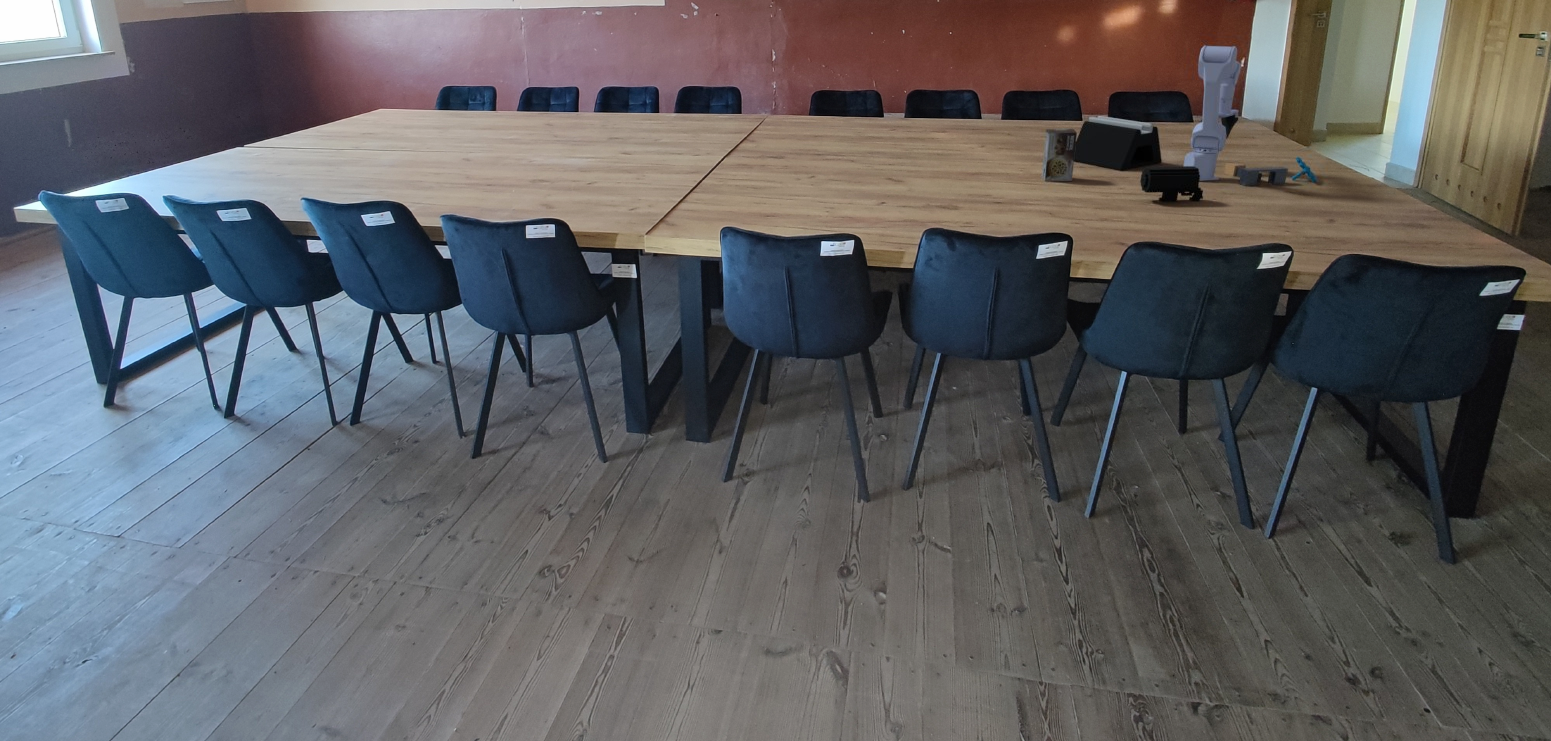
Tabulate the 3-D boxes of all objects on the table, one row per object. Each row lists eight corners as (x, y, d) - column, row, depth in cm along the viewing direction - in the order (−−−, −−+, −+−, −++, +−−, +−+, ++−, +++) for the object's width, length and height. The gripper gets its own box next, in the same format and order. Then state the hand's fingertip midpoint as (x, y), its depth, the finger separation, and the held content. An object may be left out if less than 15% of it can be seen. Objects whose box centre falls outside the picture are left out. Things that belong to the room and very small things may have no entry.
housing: (1244, 186, 293) (1247, 170, 291) (1239, 184, 295) (1242, 168, 293) (1284, 184, 294) (1288, 168, 292) (1278, 182, 297) (1282, 166, 295)
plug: (1262, 182, 298) (1264, 171, 296) (1251, 183, 297) (1253, 171, 296) (1235, 172, 311) (1237, 162, 310) (1224, 173, 311) (1226, 162, 309)
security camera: (1205, 203, 274) (1211, 170, 270) (1143, 204, 274) (1148, 170, 270) (1196, 197, 280) (1201, 165, 276) (1135, 198, 280) (1140, 166, 276)
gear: (1317, 180, 291) (1298, 156, 293) (1299, 192, 294) (1280, 168, 296) (1321, 179, 300) (1302, 155, 301) (1303, 190, 303) (1284, 166, 305)
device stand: (1120, 172, 316) (1126, 128, 310) (1068, 161, 333) (1073, 119, 327) (1161, 164, 327) (1168, 121, 321) (1109, 154, 344) (1115, 113, 338)
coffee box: (1068, 177, 308) (1074, 128, 302) (1072, 181, 303) (1077, 132, 296) (1040, 177, 309) (1045, 128, 303) (1044, 181, 303) (1049, 132, 297)
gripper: (1218, 102, 299) (1210, 143, 305) (1249, 98, 304) (1241, 139, 310) (1200, 99, 305) (1193, 140, 310) (1231, 95, 310) (1223, 136, 316)
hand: (1216, 139), depth 311 cm, fingers open, 7 cm apart
